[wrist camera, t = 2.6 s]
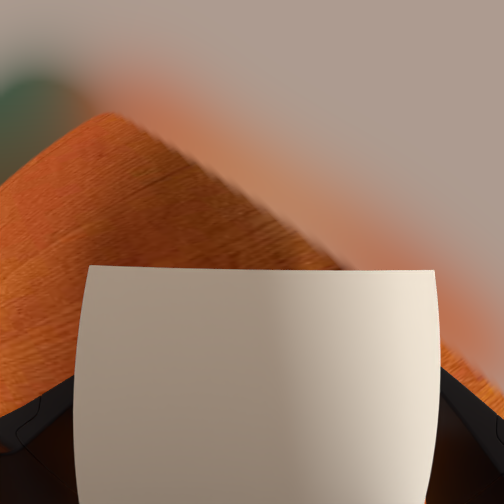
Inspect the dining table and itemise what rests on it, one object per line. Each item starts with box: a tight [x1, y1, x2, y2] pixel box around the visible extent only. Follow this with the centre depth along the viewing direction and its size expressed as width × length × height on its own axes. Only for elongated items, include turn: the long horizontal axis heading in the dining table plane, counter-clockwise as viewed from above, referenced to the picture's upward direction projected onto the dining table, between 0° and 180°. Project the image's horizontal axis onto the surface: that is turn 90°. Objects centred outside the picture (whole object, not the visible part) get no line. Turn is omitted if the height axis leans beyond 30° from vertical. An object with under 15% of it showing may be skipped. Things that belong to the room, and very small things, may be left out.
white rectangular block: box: [73, 265, 440, 504], centre depth 9 cm, size 4×4×13 cm
